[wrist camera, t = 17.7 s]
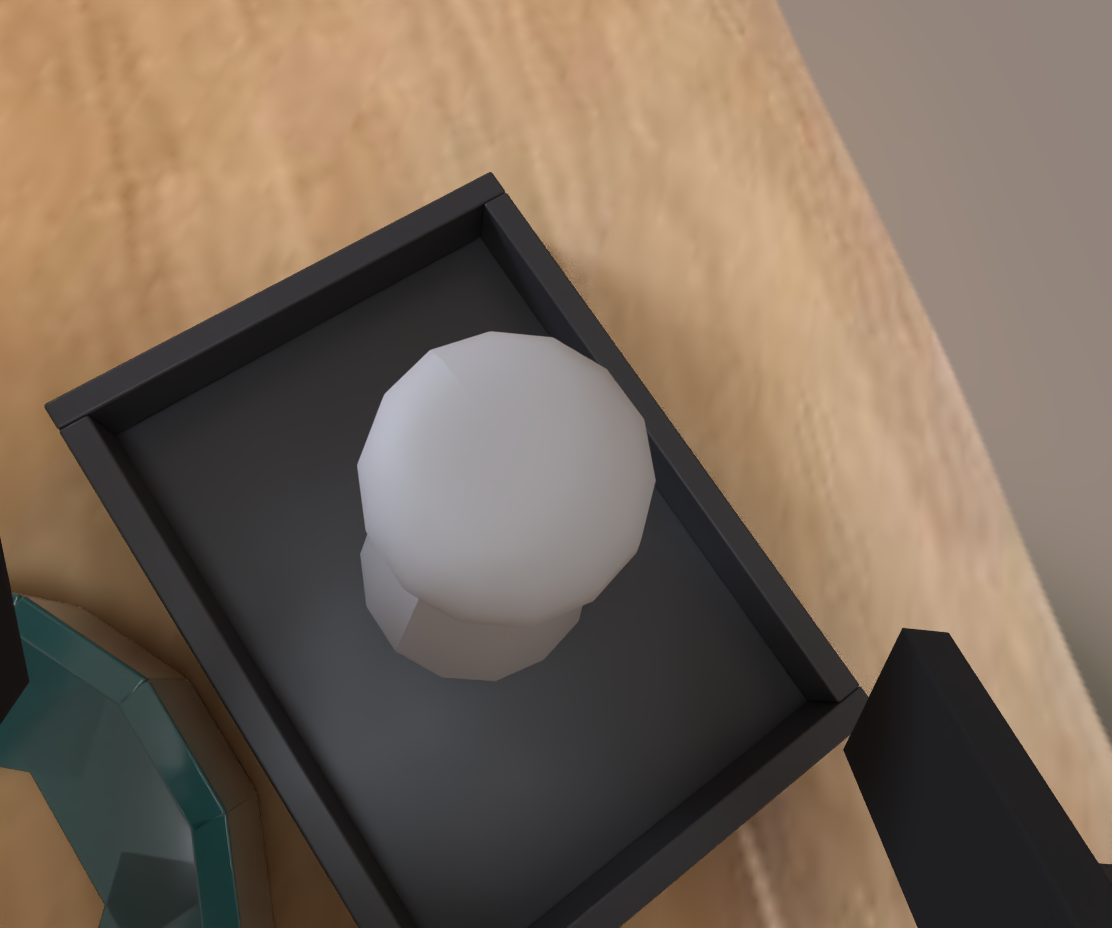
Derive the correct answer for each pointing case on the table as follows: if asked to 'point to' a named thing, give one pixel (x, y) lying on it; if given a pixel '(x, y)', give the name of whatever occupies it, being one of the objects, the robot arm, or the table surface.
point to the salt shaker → (498, 501)
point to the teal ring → (135, 776)
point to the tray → (401, 684)
